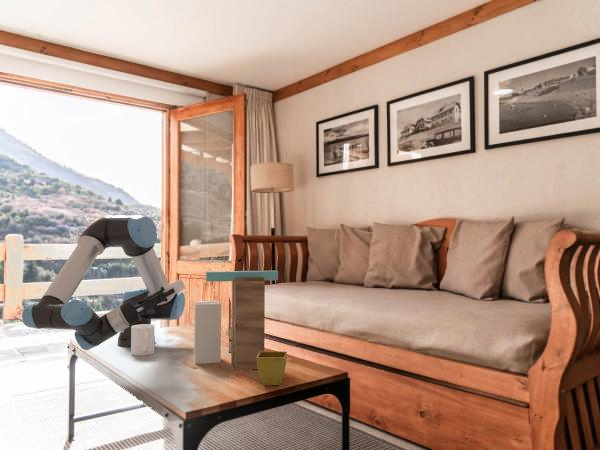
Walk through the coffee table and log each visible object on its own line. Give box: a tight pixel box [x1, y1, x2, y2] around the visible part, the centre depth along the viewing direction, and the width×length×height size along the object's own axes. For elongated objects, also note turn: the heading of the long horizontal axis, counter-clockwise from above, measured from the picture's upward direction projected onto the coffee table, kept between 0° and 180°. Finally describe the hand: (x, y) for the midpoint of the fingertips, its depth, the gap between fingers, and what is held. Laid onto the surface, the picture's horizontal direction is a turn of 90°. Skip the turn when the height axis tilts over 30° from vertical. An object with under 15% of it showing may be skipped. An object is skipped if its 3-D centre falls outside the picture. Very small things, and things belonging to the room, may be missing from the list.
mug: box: [130, 323, 155, 357], centre depth 181 cm, size 9×12×11 cm
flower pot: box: [256, 350, 288, 386], centre depth 144 cm, size 9×9×9 cm
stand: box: [230, 277, 266, 372], centre depth 164 cm, size 10×10×31 cm
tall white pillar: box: [193, 300, 222, 365], centre depth 172 cm, size 8×9×21 cm
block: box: [205, 270, 279, 283], centre depth 164 cm, size 3×25×3 cm, turn 106°
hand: (183, 282), depth 159 cm, fingers open, 13 cm apart
